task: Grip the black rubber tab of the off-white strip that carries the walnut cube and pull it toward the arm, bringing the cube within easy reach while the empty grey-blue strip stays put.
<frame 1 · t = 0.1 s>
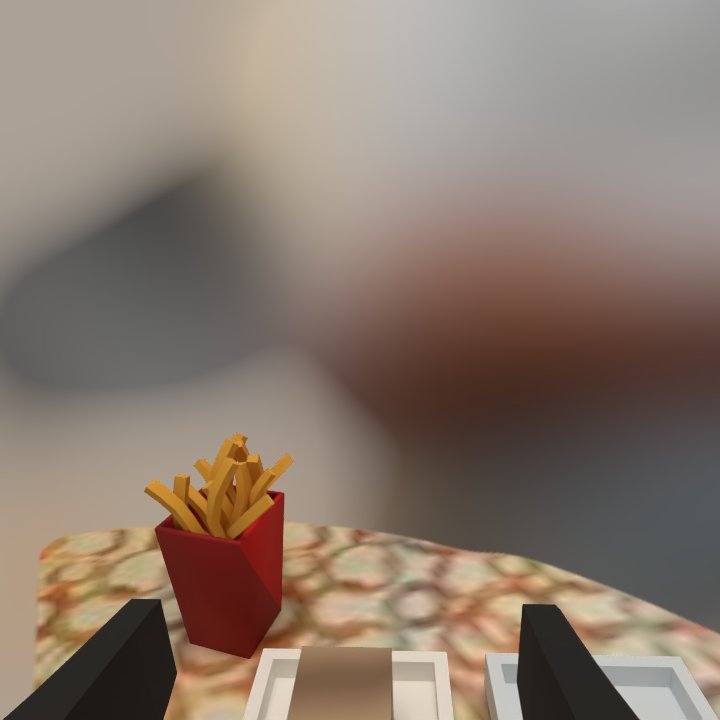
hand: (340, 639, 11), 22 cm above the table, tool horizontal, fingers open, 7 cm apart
french fries: (254, 623, 41), on the table
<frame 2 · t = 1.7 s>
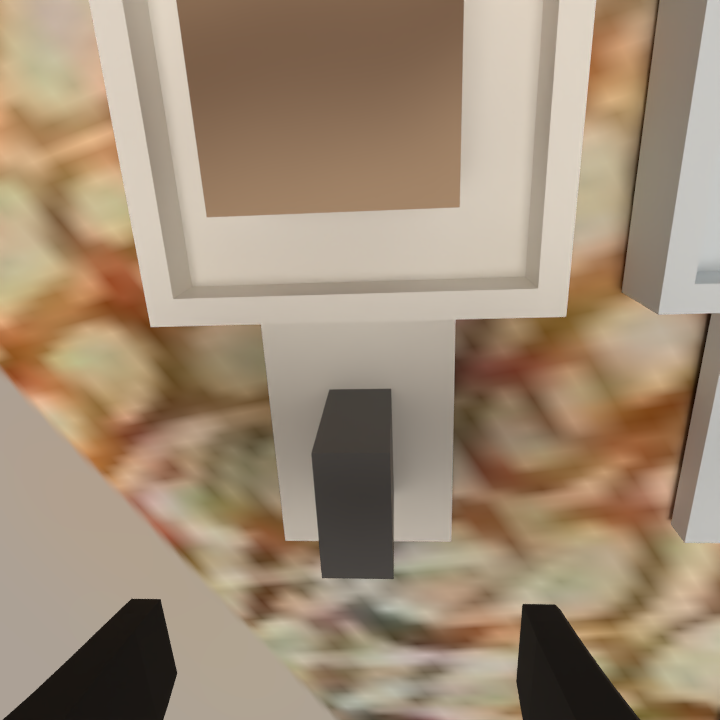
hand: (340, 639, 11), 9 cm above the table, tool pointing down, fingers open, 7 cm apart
cube strip: (349, 270, 15), point 3 cm above the table, slide at 0.0 cm, touching walnut cube
walnut cube: (346, 96, 14), point 1 cm above the table, touching cube strip
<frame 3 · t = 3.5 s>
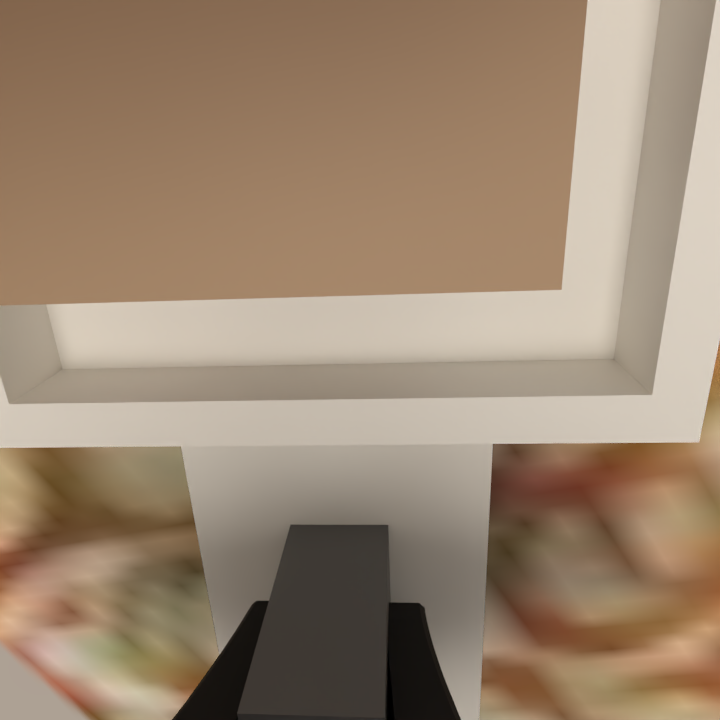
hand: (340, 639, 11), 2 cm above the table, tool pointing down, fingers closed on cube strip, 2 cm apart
cube strip: (313, 360, 8), point 3 cm above the table, slide at 0.0 cm, touching gripper, walnut cube
walnut cube: (305, 48, 8), point 1 cm above the table, touching cube strip
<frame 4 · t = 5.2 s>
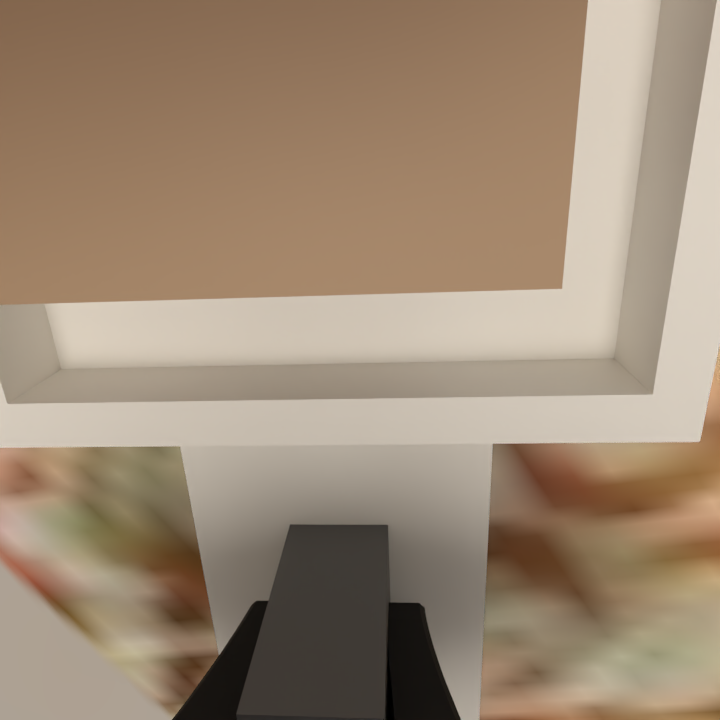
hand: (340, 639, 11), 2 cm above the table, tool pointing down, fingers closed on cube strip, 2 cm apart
cube strip: (312, 359, 8), point 3 cm above the table, slide at 4.1 cm, touching gripper, walnut cube
walnut cube: (304, 46, 8), point 1 cm above the table, touching cube strip
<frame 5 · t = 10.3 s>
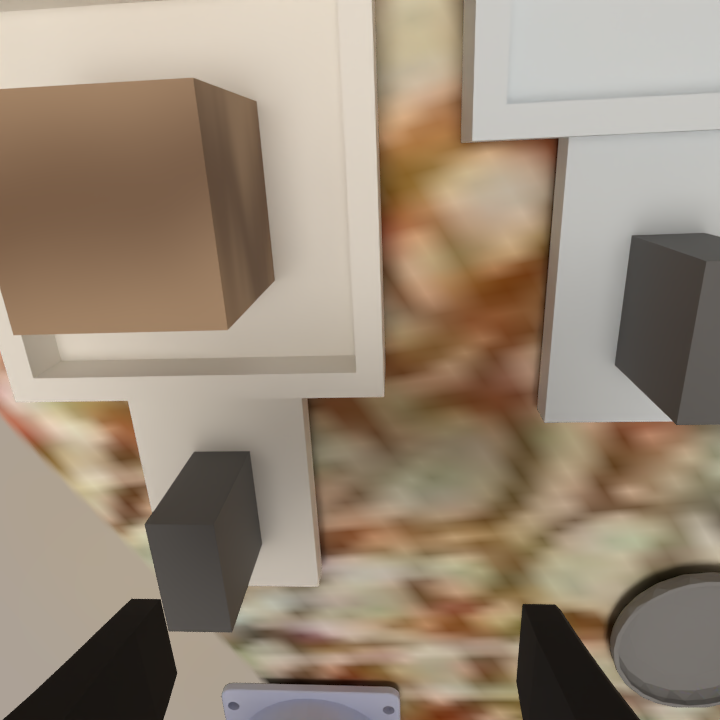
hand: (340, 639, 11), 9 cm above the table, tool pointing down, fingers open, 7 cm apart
cube strip: (187, 355, 16), point 3 cm above the table, slide at 7.0 cm, touching walnut cube
pocket watch: (713, 631, 22), on the table
walnut cube: (182, 199, 16), point 1 cm above the table, touching cube strip
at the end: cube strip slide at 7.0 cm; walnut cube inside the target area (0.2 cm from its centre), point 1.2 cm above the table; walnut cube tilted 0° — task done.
